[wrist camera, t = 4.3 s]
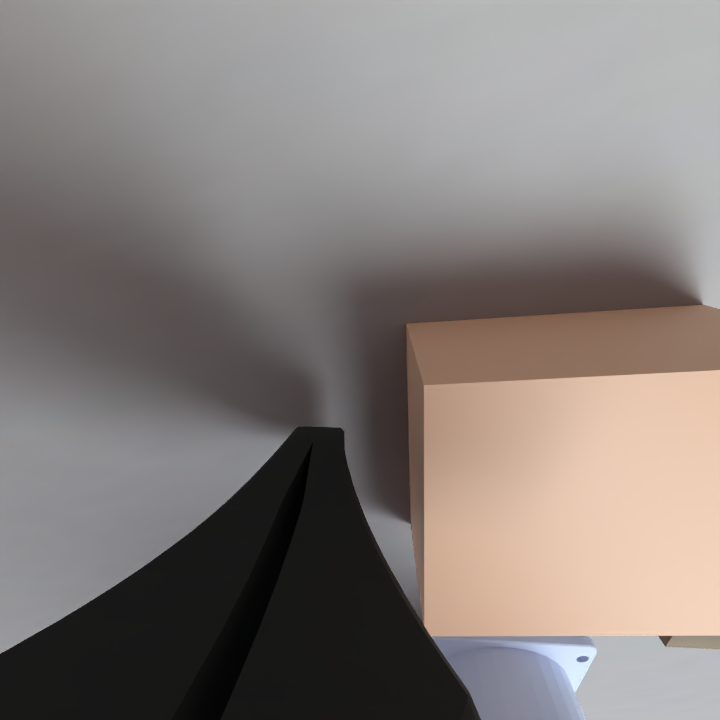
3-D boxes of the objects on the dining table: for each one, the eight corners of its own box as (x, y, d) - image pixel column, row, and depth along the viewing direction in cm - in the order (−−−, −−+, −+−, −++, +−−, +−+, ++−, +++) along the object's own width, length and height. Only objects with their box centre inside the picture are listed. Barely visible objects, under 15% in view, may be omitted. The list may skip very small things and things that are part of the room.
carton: (625, 512, 13) (728, 635, 9) (410, 517, 13) (424, 636, 9) (694, 302, 9) (900, 361, 6) (405, 320, 10) (424, 384, 6)
